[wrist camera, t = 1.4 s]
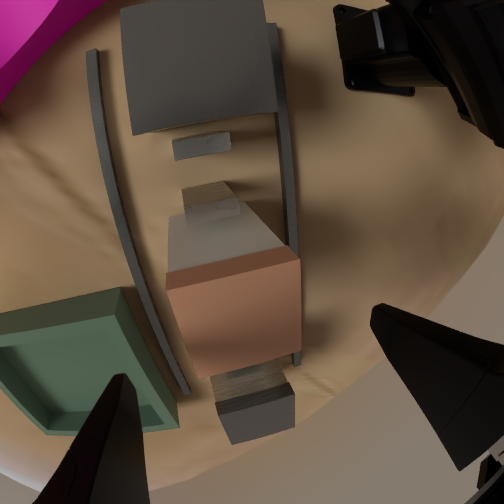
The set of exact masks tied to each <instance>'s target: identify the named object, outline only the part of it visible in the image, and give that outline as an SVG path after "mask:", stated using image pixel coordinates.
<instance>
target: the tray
mask: <svg viewBox="0 0 504 504" xmlns="http://www.w3.org/2000/svg"><path fill="white" fill-rule="evenodd" d="M119 373H125V374H127V376H128V377H129V379H130V380H131V382H132V383H133V385H134V387H135V389H136V392H137V398H138V405H139V412H140V418H141V424H142V430H143V433H144V432H153V431H161V430H168V429H175V428H180V426H179V418H178V410H177V402H176V400H175V398H174V396H173V395H172V393H171V391H170V389H169V388H168V386H167V384H166V382H165V380H164V379H163V377H162V375H161V373H160V371H159V369H158V367H157V365H156V364H155V362H154V360H153V358H152V356H151V354H150V352H149V350H148V348H147V346H146V344H145V341H144V339H143V337H142V335H141V333H140V331H139V329H138V326H137V324H136V322H135V320H134V317H133V315H132V313H131V311H130V308H129V306H128V303H127V301H126V299H125V296H124V294H123V291H122V289H121V287H118V288H114V289H109V290H105V291H101V292H96V293H92V294H87V295H83V296H78V297H74V298H69V299H65V300H60V301H56V302H51V303H47V304H42V305H38V306H33V307H28V308H24V309H19V310H15V311H10V312H6V313H1V314H0V388H1V389H2V391H3V392H4V393H5V394H6V395H7V396H8V397H9V398H10V400H11V401H12V402H13V403H14V404H15V405H16V406H17V407H18V408H19V409H20V410H21V411H22V412H23V413H24V414H25V415H26V416H27V417H28V418H29V419H30V420H31V421H32V422H33V423H34V424H35V425H36V426H37V427H38V428H39V429H40V430H42V431H43V432H44V433H45V434H46V435H58V436H77V434H78V432H79V430H80V429H81V427H82V425H83V424H84V422H85V420H86V419H87V417H88V415H89V414H90V412H91V410H92V409H93V407H94V405H95V404H96V402H97V400H98V399H99V397H100V396H101V394H102V392H103V391H104V389H105V388H106V386H107V384H108V383H109V381H110V380H111V378H112V377H113V375H114V374H119Z"/></svg>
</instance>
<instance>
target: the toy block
mask: <svg viewBox="0 0 504 504" xmlns="http://www.w3.org/2000/svg"><path fill="white" fill-rule="evenodd" d="M105 1H106V0H0V104H1V103H2V101H3V100H4V99H5V97H6V96H7V95H8V93H9V92H10V91H11V90H12V88H13V87H14V86H15V85H16V83H17V82H18V81H19V80H20V79H21V77H22V76H23V75H24V74H25V73H26V72H27V71H28V69H29V68H30V67H31V66H32V65H33V64H34V63H35V62H36V61H37V60H38V59H39V58H40V57H41V56H42V54H43V53H44V52H45V51H46V50H47V49H48V48H50V47H51V46H52V45H53V44H54V43H55V42H56V41H57V40H58V39H59V38H60V37H61V36H62V35H63V34H65V33H66V32H67V31H68V30H69V29H70V28H71V27H73V26H74V25H75V24H76V23H77V22H79V21H80V20H81V19H82V18H84V17H85V16H86V15H87V14H89V13H90V12H91V11H93V10H94V9H95V8H97V7H98V6H99V5H101V4H102V3H104V2H105Z"/></svg>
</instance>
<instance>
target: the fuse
mask: <svg viewBox="0 0 504 504" xmlns="http://www.w3.org/2000/svg"><path fill="white" fill-rule="evenodd" d="M239 207H240V215H235V216H230V217H225V218H220V219H216V220H211V221H206V222H202V223H197V224H192V225H188V224H187V220H186V215H185V214H180V215H176V216H171V217H169V227H168V273H166V291H167V294H168V297H169V300H170V303H171V306H172V309H173V312H174V315H175V318H176V321H177V324H178V326H179V329H180V332H181V335H182V337H183V340H184V343H185V345H186V348H187V350H188V353H189V356H190V358H191V361H192V363H193V366H194V368H195V371H196V373H197V375H198V378H204V377H208V376H213V375H217V374H221V373H225V372H229V371H233V370H237V369H241V368H245V367H249V366H252V365H256V364H259V363H263V362H266V361H270V360H273V359H276V358H280V357H283V356H286V355H289V354H293V353H296V352H299V351H302V309H301V268H300V258H299V257H298V256H297V255H296V254H295V253H294V252H293V251H292V250H291V249H290V248H289V247H288V245H286V246H285V245H284V244H283V243H282V242H281V241H280V239H279V238H278V237H277V236H276V235H275V234H274V233H273V232H272V231H271V230H270V229H269V228H268V227H267V226H266V224H265V223H264V222H263V221H262V220H261V219H260V218H259V217H258V216H257V215H256V214H255V213H254V212H253V211H252V210H251V209H250V207H249V206H248V205H247V204H246V203H245V202H244V201H243V202H239Z"/></svg>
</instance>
